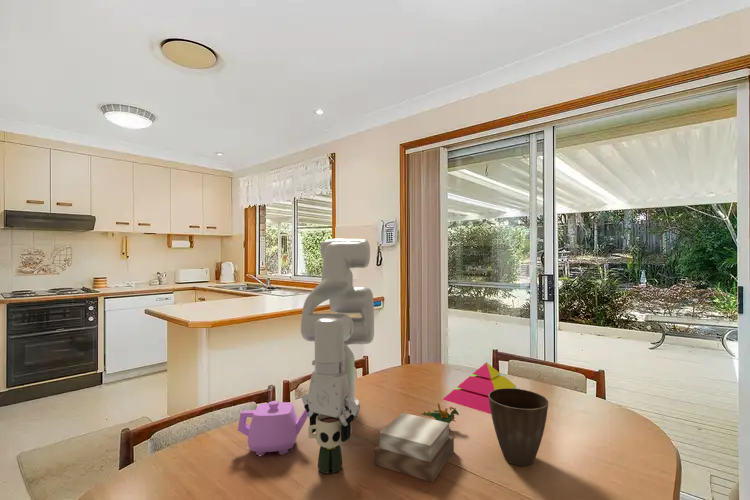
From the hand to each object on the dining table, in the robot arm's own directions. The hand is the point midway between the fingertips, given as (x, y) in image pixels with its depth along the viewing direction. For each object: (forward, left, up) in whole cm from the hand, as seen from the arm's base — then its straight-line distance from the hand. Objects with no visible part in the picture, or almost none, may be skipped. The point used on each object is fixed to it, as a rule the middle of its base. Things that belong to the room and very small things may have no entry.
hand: (329, 435), depth 95 cm
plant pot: (+41, +29, -9) cm, 50 cm away
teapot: (-20, +2, -9) cm, 22 cm away
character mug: (0, +1, -9) cm, 9 cm away
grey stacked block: (+17, +16, -9) cm, 24 cm away
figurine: (+17, +35, -9) cm, 39 cm away
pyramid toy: (+24, +67, -10) cm, 71 cm away
